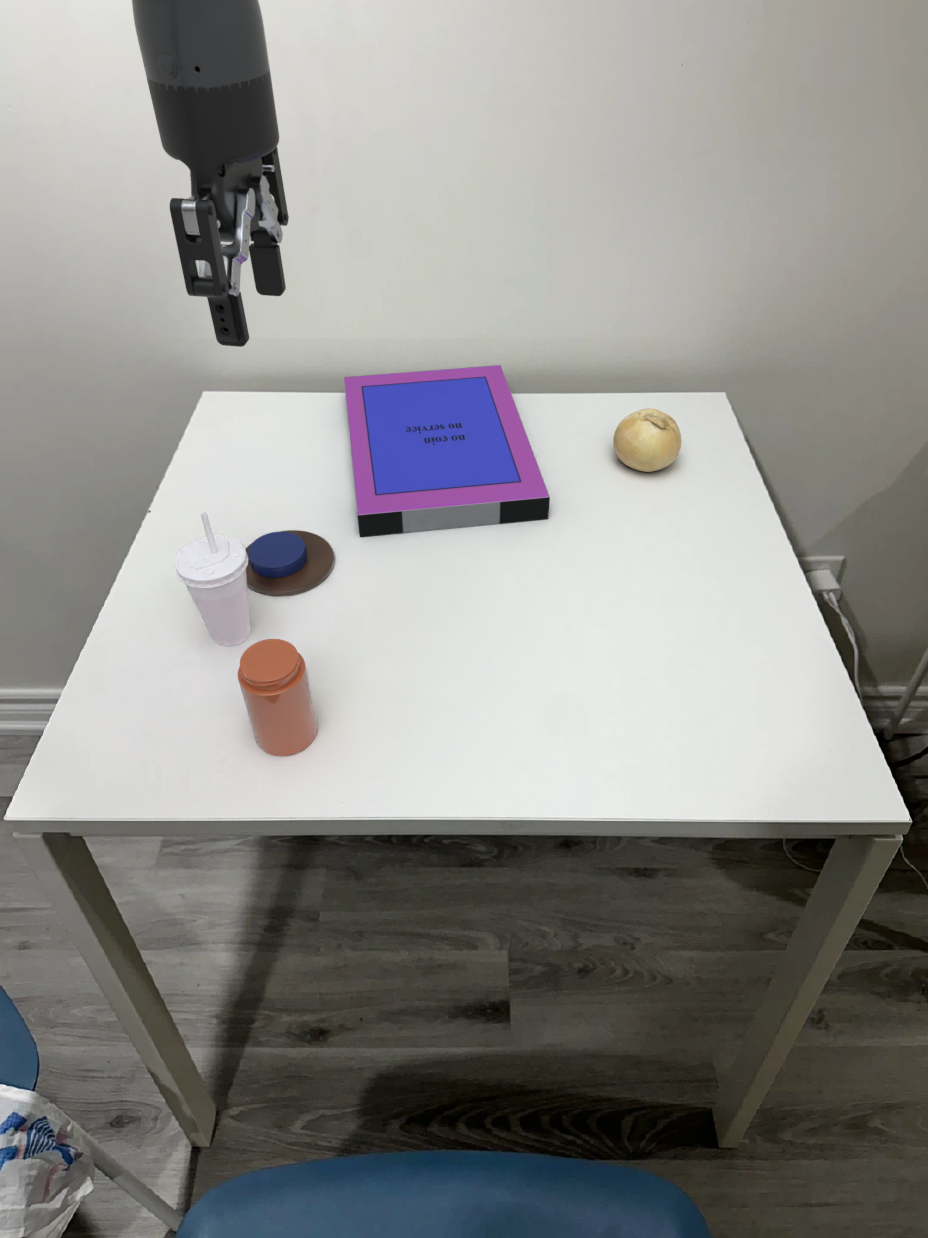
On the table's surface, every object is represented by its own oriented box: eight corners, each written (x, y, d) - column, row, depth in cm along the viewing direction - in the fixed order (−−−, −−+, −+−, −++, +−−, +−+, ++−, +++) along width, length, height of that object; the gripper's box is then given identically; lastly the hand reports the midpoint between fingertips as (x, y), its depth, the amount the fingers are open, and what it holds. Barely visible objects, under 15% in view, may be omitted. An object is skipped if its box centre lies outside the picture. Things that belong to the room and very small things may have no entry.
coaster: (224, 590, 87) (223, 586, 86) (257, 530, 94) (256, 525, 93) (319, 601, 86) (319, 596, 85) (345, 539, 93) (344, 534, 92)
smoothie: (278, 625, 83) (252, 510, 73) (232, 666, 79) (199, 551, 69) (229, 601, 86) (198, 487, 76) (183, 640, 82) (144, 525, 72)
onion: (600, 468, 102) (606, 416, 97) (625, 436, 107) (632, 385, 102) (663, 487, 99) (674, 434, 94) (686, 454, 104) (697, 402, 99)
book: (500, 365, 114) (549, 497, 93) (500, 385, 116) (548, 519, 95) (343, 377, 112) (357, 515, 91) (345, 397, 114) (359, 537, 93)
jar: (248, 755, 72) (226, 683, 66) (262, 705, 76) (243, 633, 69) (311, 757, 72) (296, 686, 65) (322, 708, 76) (309, 636, 69)
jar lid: (296, 535, 92) (294, 525, 91) (314, 567, 88) (313, 557, 87) (243, 551, 90) (240, 541, 89) (259, 585, 86) (257, 574, 85)
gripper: (224, 97, 47) (272, 367, 58) (299, 42, 57) (327, 281, 68) (97, 93, 48) (168, 359, 59) (193, 39, 58) (238, 276, 69)
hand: (253, 317), depth 64 cm, fingers open, 8 cm apart
